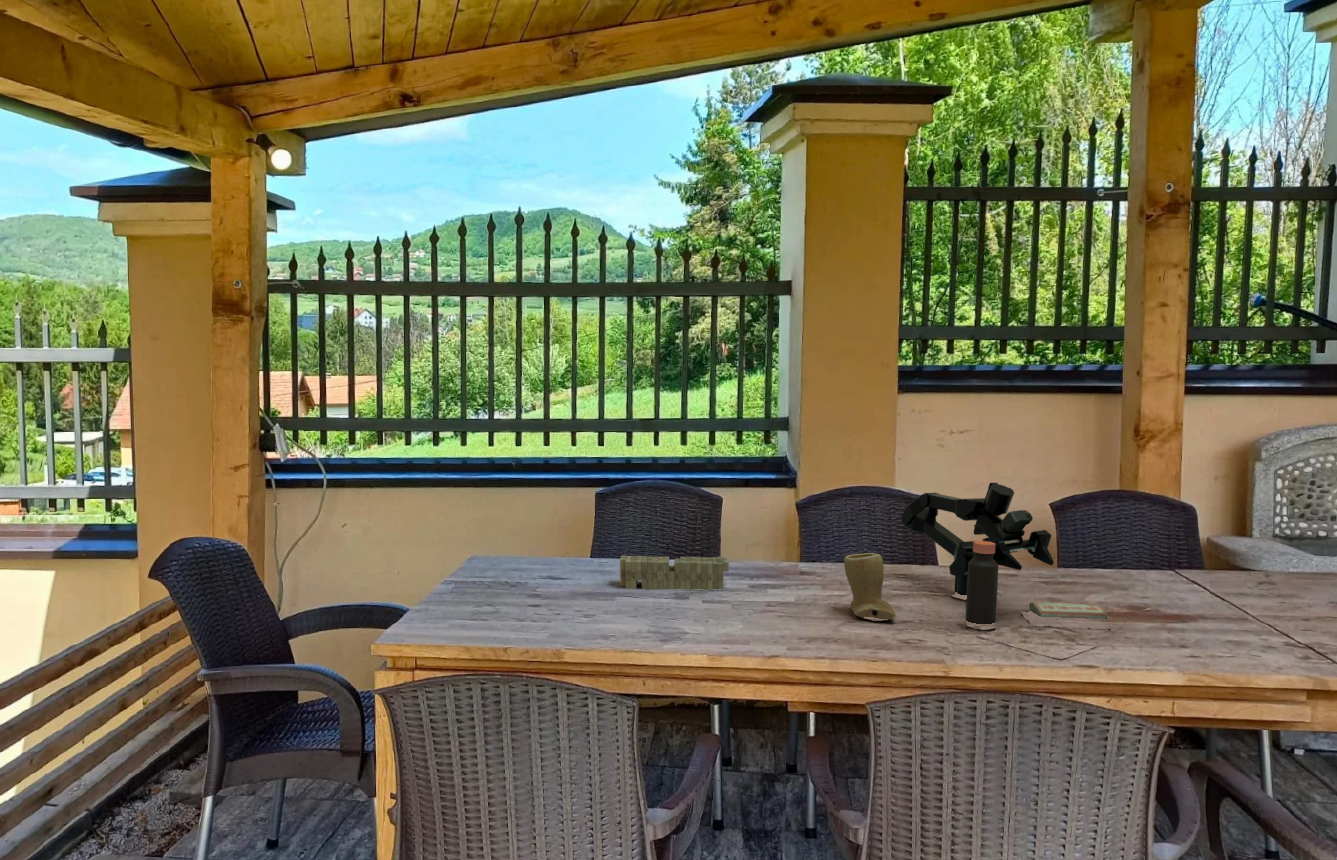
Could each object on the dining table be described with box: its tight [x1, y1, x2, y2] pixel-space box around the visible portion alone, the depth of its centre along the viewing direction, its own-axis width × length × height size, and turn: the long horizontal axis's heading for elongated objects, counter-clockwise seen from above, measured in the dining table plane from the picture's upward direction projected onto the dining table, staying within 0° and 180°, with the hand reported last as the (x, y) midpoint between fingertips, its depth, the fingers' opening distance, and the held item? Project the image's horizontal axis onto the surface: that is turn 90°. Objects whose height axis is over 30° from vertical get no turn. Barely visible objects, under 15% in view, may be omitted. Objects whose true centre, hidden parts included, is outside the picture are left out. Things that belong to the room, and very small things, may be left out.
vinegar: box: [965, 540, 1000, 624], centre depth 213 cm, size 7×7×20 cm
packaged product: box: [1029, 601, 1109, 619], centre depth 219 cm, size 18×5×10 cm
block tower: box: [619, 555, 730, 590], centre depth 246 cm, size 8×8×29 cm
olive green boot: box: [843, 552, 897, 620], centre depth 222 cm, size 15×12×15 cm
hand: (1036, 566), depth 217 cm, fingers open, 9 cm apart
